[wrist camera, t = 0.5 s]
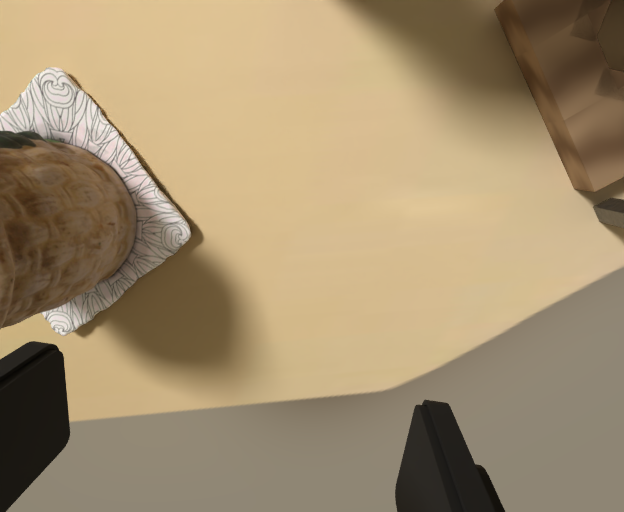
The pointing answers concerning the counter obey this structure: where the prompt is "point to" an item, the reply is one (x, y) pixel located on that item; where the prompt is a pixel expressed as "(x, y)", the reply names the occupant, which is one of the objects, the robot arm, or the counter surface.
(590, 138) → the socket block
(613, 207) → the small grey stool
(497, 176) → the counter surface
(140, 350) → the counter surface
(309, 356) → the counter surface
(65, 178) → the cookie jar
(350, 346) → the counter surface
